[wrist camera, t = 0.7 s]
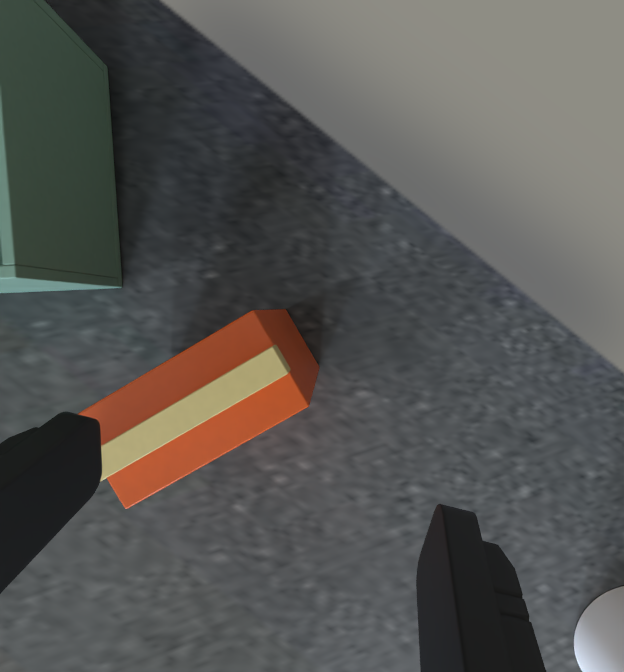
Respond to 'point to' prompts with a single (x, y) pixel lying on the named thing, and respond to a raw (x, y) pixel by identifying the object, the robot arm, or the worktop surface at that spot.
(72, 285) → the bin
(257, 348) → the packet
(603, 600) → the mug
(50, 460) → the robot arm
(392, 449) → the worktop surface
